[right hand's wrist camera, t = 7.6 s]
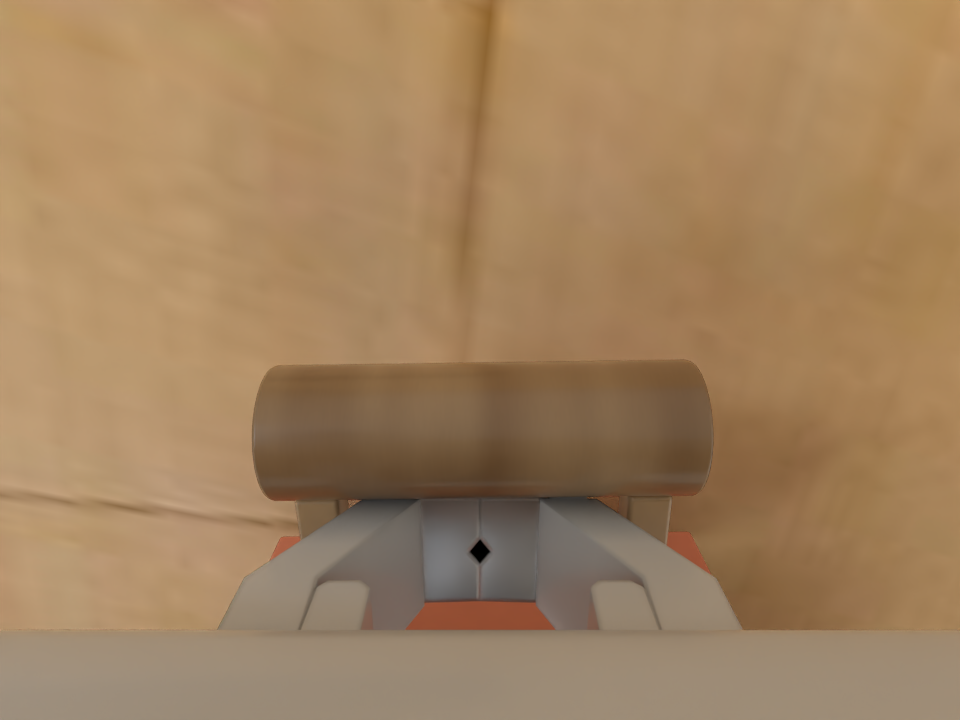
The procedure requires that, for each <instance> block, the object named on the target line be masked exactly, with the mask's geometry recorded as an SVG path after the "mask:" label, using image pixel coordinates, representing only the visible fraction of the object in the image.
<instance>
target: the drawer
mask: <svg viewBox="0 0 960 720" xmlns="http://www.w3.org/2000/svg"><path fill="white" fill-rule="evenodd" d="M252 452H253V461H254V468H255V473H256V477H257V480H258V483H259V486H260V488H261V490H262V492H263V493H264V495H265V496H266V497H267V498H269V499H271V500H274V501H296V502H295V506H296V513H297V520H298V526H299V533H300V537H281V538H280V540H279V542H278V544H277V546H276V548H275V550H274V553H273V555H272V557H271V559H270V560H272V559H273V558H275V557H276V556H278V555H279V554H281V553H282V552H284V551H285V550H287V549H289V548H290V547H292V546H293V545H295V544H296V543H298V542H299V541H301V540H302V539H304V538H305V537H307V536H308V535H310V534H311V533H313V532H314V531H316V530H317V529H319V528H320V527H322V526H323V525H325V524H326V523H328V522H329V521H331V520H332V519H334V518H335V517H337V516H339V515H340V514H342V513H343V512H345V511H346V510H348V509H349V506H348V500H378V499H457V498H535V497H613V496H619V508H618V514H620V515H621V516H623V517H625V518H626V519H628V520H629V521H631V522H632V523H634V524H635V525H637V526H638V527H640V528H641V529H643V530H644V531H646V532H647V533H649V534H650V535H652V536H653V537H655V538H656V539H658V540H659V541H661V542H662V543H664V544H665V545H667V546H668V547H670V548H671V549H673V550H674V551H676V552H677V553H679V554H680V555H682V556H683V557H685V558H686V559H688V560H689V561H691V562H692V563H694V564H695V565H697V566H698V567H700V568H701V569H703V570H704V571H706V572H707V573H709V574H711V573H710V571H709V569H708V567H707V565H706V563H705V561H704V559H703V557H702V555H701V553H700V552H699V550H698V548H697V546H696V544H695V542H694V540H693V538H692V536H691V534H690V533H689V532H668V531H669V523H670V514H671V506H672V496H691V495H695V494H697V493H699V492H700V491H701V490H702V489H703V488H704V486H705V484H706V482H707V479H708V476H709V472H710V468H711V462H712V454H713V419H712V411H711V404H710V399H709V395H708V391H707V387H706V384H705V381H704V379H703V377H702V374H701V372H700V371H699V369H698V368H697V366H696V365H695V364H694V363H692V362H690V361H688V360H627V361H556V362H485V363H414V364H344V365H279V366H275V367H273V368H271V369H270V370H269V371H268V372H267V373H266V375H265V376H264V378H263V380H262V382H261V385H260V387H259V391H258V394H257V398H256V402H255V408H254V414H253V424H252ZM424 605H425V606H424V607H423V608H422V609H421V611H420V612H419V613H418V614H417V616H416V617H415V618H414V619H413V620H412V622H411V623H410V624H409V625H408V627H407V628H406V629H405V630H555V628H554V627H553V626H552V625H551V623H550V622H549V621H548V620H547V619H546V617H545V616H544V615H543V614H542V612H541V611H540V610H539V609H538V608H537V606H536V603H527V602H490V601H468V602H433V603H424Z"/></svg>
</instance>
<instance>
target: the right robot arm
mask: <svg viewBox="0 0 960 720" xmlns="http://www.w3.org/2000/svg"><path fill="white" fill-rule="evenodd" d="M468 601H490V602H527V603H536V606H537V608H538V609H539V610H540V611H541V612H542V614H543V615H544V616H545V617H546V619H547V620H548V621H549V622H550V623H551V625H552V626H553V627H554V628H555V630H405V629H406V628H407V627H408V625H409V624H410V623H411V622H412V620H413V619H414V618H415V617H416V616H417V614H418V613H419V612H420V611H421V609H422V608H423V607H424V606H425V605H424V603H433V602H468ZM0 720H960V630H743V629H742V627H741V625H740V623H739V621H738V619H737V617H736V615H735V613H734V611H733V609H732V607H731V605H730V603H729V601H728V600H727V598H726V596H725V594H724V592H723V590H722V588H721V586H720V584H719V582H718V580H717V578H715V577H714V576H712V575H711V574H709V573H707V572H706V571H704V570H703V569H701V568H700V567H698V566H697V565H695V564H694V563H692V562H691V561H689V560H688V559H686V558H685V557H683V556H682V555H680V554H679V553H677V552H676V551H674V550H673V549H671V548H670V547H668V546H667V545H665V544H664V543H662V542H661V541H659V540H658V539H656V538H655V537H653V536H652V535H650V534H649V533H647V532H646V531H644V530H643V529H641V528H640V527H638V526H637V525H635V524H634V523H632V522H631V521H629V520H628V519H626V518H625V517H623V516H621V515H620V514H618V513H617V512H615V511H614V510H612V509H611V508H609V507H608V506H606V505H605V504H603V503H602V502H600V501H599V500H597V499H587V497H535V498H457V499H378V500H361V501H360V502H358V503H357V504H355V505H354V506H352V507H351V508H349V509H348V510H346V511H345V512H343V513H342V514H340V515H339V516H337V517H335V518H334V519H332V520H331V521H329V522H328V523H326V524H325V525H323V526H322V527H320V528H319V529H317V530H316V531H314V532H313V533H311V534H310V535H308V536H307V537H305V538H304V539H302V540H301V541H299V542H298V543H296V544H295V545H293V546H292V547H290V548H289V549H287V550H285V551H284V552H282V553H281V554H279V555H278V556H276V557H275V558H273V559H272V560H270V561H269V562H267V563H266V564H264V565H263V566H261V567H260V568H258V569H257V570H255V571H254V572H252V573H251V574H249V575H248V576H246V577H245V578H244V579H243V581H242V583H241V585H240V587H239V589H238V591H237V593H236V594H235V596H234V598H233V600H232V602H231V604H230V606H229V608H228V610H227V612H226V614H225V616H224V617H223V619H222V621H221V623H220V625H219V627H218V629H217V630H0Z"/></svg>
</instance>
